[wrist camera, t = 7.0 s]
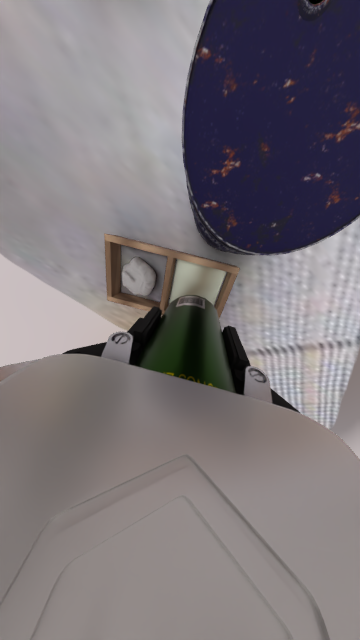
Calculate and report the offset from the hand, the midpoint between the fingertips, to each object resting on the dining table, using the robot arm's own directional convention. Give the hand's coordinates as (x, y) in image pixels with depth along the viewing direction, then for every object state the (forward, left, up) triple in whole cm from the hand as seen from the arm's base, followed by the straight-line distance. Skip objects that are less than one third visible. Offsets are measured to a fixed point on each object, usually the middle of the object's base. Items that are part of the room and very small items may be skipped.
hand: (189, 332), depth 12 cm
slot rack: (-5, 0, -14) cm, 15 cm away
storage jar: (+2, +12, -14) cm, 18 cm away
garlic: (-9, 0, -14) cm, 17 cm away
